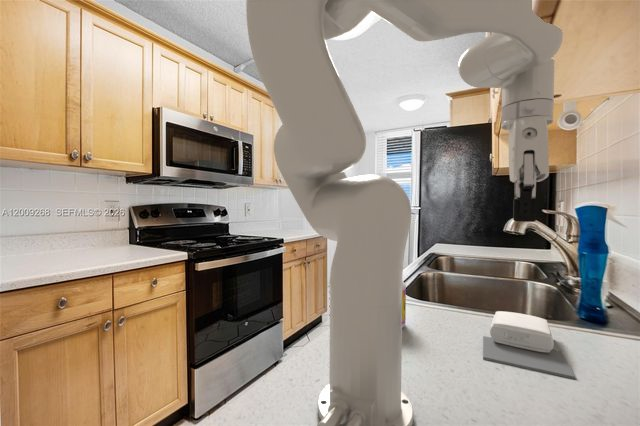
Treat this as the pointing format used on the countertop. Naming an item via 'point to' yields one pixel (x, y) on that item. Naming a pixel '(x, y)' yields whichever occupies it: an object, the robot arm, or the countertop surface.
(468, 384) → the countertop surface
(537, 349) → the photo printer
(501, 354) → the mat
